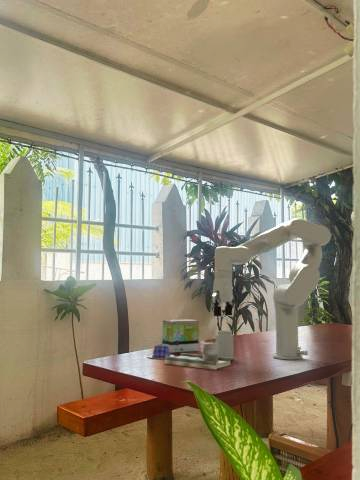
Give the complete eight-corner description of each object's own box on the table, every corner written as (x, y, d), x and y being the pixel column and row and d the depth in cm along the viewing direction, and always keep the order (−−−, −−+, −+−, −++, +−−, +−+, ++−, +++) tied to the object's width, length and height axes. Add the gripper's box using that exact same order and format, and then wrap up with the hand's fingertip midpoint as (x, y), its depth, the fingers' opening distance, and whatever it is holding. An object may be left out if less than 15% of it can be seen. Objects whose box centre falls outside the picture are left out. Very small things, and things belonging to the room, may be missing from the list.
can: (214, 358, 191) (214, 330, 193) (231, 358, 192) (231, 329, 193) (217, 361, 184) (217, 331, 185) (235, 361, 185) (234, 331, 186)
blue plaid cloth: (177, 356, 199) (177, 344, 200) (172, 360, 188) (172, 347, 188) (150, 355, 201) (150, 343, 202) (144, 359, 190) (144, 347, 190)
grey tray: (230, 364, 176) (230, 342, 176) (214, 369, 165) (214, 346, 166) (182, 359, 188) (182, 339, 189) (164, 363, 178) (164, 341, 179)
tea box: (172, 353, 206) (172, 321, 207) (161, 350, 214) (161, 319, 216) (199, 351, 214) (199, 319, 215) (187, 348, 222) (187, 318, 224)
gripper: (225, 276, 201) (225, 314, 199) (205, 274, 187) (205, 316, 185) (240, 276, 197) (240, 315, 195) (221, 274, 182) (220, 316, 181)
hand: (223, 315), depth 190 cm, fingers open, 9 cm apart
